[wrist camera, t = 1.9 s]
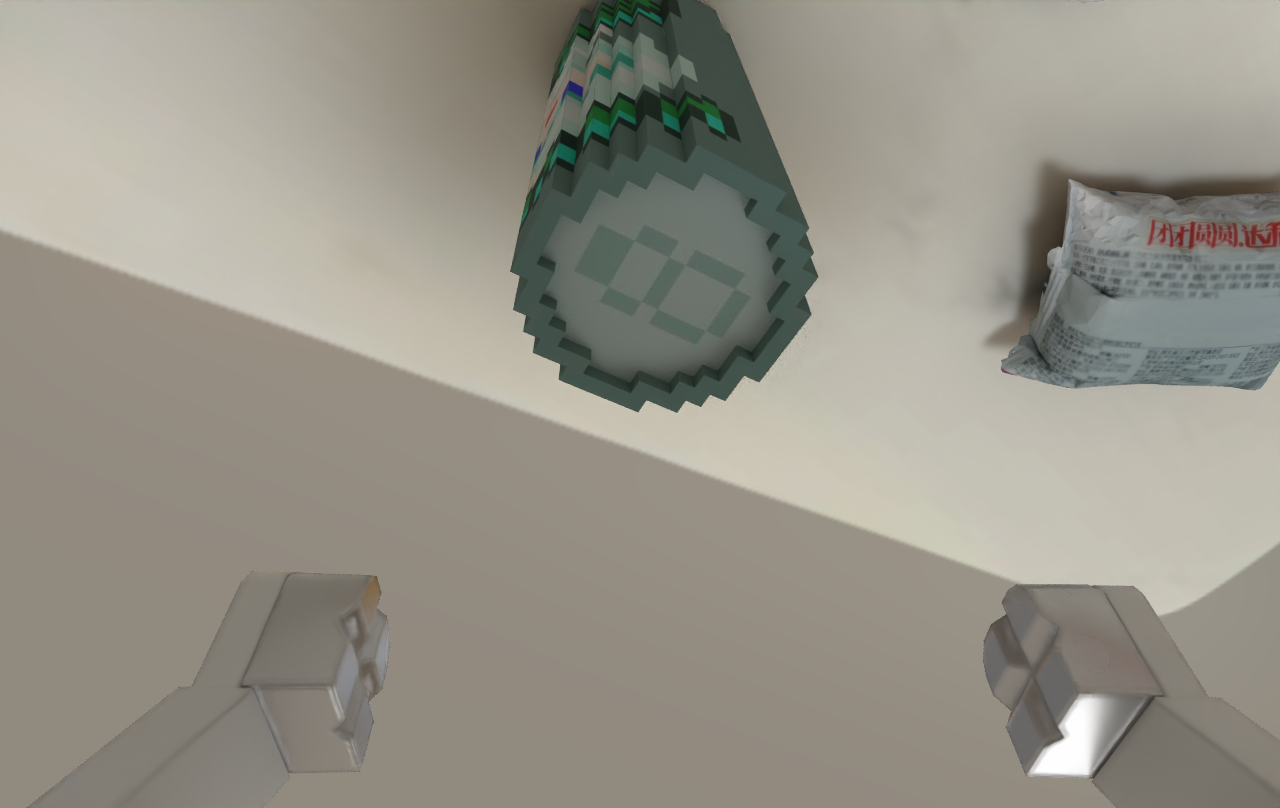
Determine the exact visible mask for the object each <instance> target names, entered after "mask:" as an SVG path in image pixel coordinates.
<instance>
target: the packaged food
mask: <svg viewBox="0 0 1280 808" xmlns="http://www.w3.org/2000/svg"><path fill="white" fill-rule="evenodd" d="M1067 193H1068V197H1067V213H1066V218H1065V228H1064V237H1063V246H1062V248H1061V247H1060V246H1059V247H1057V248H1054V249H1052V250H1050V252H1049V253H1048V258H1047V266H1048V267H1049V268H1050V272H1049V275H1048V278H1047V282H1044V285H1043V288H1042V295H1041V302H1040V308H1039V313H1038V315H1037V317H1036V318H1034V319H1032V321H1031V323H1030V330H1031V331H1030V332H1029V333H1028V335H1025V336H1022V337H1021V338H1020V341H1019V343H1018V345H1017V346H1016V347H1015V348H1013V349H1012V350H1011V351H1010V352H1009V356H1008V358H1006V359H1003V360H1001V361H1002V366H1001V370H1002V372H1004V373H1008V374H1011V375H1019V376H1022V377H1025V378H1029V379H1033V380H1037V381H1040V382H1044V383H1048V384H1053V385H1057V386H1062V387H1067V388H1085V387H1097V386H1112V385H1127V384H1159V385H1191V386H1225V387H1234V388H1240V389H1246V390H1257V389H1260V388H1261V387H1262V386H1263V385H1264V383H1265V382H1266V380H1267V379H1268V377H1269V376H1270V375H1271V373H1272V372H1273V370H1274V369H1275V367H1276V366H1277V364H1278V363H1279V361H1280V192H1269V193H1258V194H1237V195H1224V196H1192V197H1189V198H1185V199H1182V200H1173V199H1171V198H1170V197H1168V196H1164V195H1160V194H1149V193H1137V192H1125V191H1102V190H1098V189H1095V188H1089V187H1087V186H1085V185H1083V184H1081V183H1079V182H1077V181H1074V180H1071V179H1068V187H1067ZM1013 351H1015V352H1014V353H1012V352H1013Z"/></svg>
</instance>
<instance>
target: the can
mask: <svg viewBox="0 0 1280 808" xmlns="http://www.w3.org/2000/svg"><path fill="white" fill-rule="evenodd" d="M808 229H809V227H808V224H807V222H806V219H805V217H804V214H803V212H802V210H801V207H800V205H799V202H798V200H797V197H796V195H795V192H794V190H793V188H792V185H791V183H790V180H789V178H788V175H787V173H786V171H785V168H784V166H783V163H782V161H781V158H780V156H779V154H778V151H777V149H776V146H775V144H774V141H773V139H772V136H771V134H770V132H769V129H768V127H767V124H766V122H765V119H764V117H763V115H762V112H761V110H760V107H759V105H758V102H757V100H756V98H755V95H754V93H753V90H752V88H751V85H750V83H749V80H748V78H747V76H746V73H745V71H744V68H743V66H742V63H741V61H740V59H739V56H738V54H737V51H736V49H735V46H734V44H733V42H732V39H731V37H730V34H728V33H726V32H724V31H723V29H722V26H721V24H720V21H719V18H718V16H717V13H716V11H714V10H713V9H711V8H709V7H708V6H706V5H704V4H703V3H701V2H699V1H698V0H598V2H597V4H596V6H595V8H594V10H593V13H590V12H588V11H586V10H585V9H583V8H581V9H580V11H579V13H578V16H577V18H576V20H575V22H574V24H573V27H572V29H571V31H570V33H569V35H568V38H567V40H566V42H565V44H564V46H563V49H562V51H561V53H560V55H559V57H558V60H557V62H556V65H555V70H554V74H553V79H552V83H551V88H550V92H549V97H548V101H547V106H546V111H545V115H544V120H543V124H542V129H541V133H540V138H539V143H538V147H537V152H536V156H535V161H534V165H533V170H532V175H531V179H530V184H529V188H528V193H527V197H526V202H525V206H524V211H523V216H522V220H521V225H520V229H519V234H518V238H517V243H516V248H515V252H514V257H513V261H512V266H511V270H510V272H512V273H514V274H517V275H519V276H520V278H519V283H518V288H517V293H516V298H515V303H514V308H513V310H515V311H517V312H519V313H522V314H524V315H526V318H525V324H524V330H523V332H525V333H528V334H530V335H532V336H535V342H534V349H533V353H535V354H537V355H540V356H542V357H544V358H547V359H549V360H552V361H554V362H556V363H559V364H560V373H559V380H561V381H563V382H565V383H568V384H570V385H573V386H575V387H578V388H580V389H582V390H585V391H587V392H590V393H592V394H595V395H597V396H600V397H602V398H604V399H607V400H609V401H612V402H614V403H617V404H619V405H622V406H624V407H626V408H629V409H631V410H634V411H636V412H639V410H640V409H641V407H642V406H643V405H644V403H645V402H646V400H648V401H650V402H652V403H655V404H657V405H660V406H662V407H664V408H667V409H669V410H672V411H674V412H676V413H677V412H678V411H679V409H680V408H681V407H682V405H683V404H684V402H685V401H688V402H691V403H693V404H695V405H698V406H700V407H701V406H702V405H703V403H704V402H705V401H706V399H707V398H708V397H709V395H712V396H715V397H717V398H719V399H722V400H724V401H725V400H726V399H727V398H728V396H729V395H730V394H731V392H732V391H733V390H734V388H735V387H736V386H737V384H738V383H739V382H740V381H741V379H742V378H743V377H744V376H746V377H748V378H750V379H753V380H755V381H757V382H760V381H761V379H762V378H763V377H764V375H765V374H766V373H767V372H768V370H769V369H770V368H771V366H772V365H773V364H774V362H775V361H776V360H777V359H778V357H779V356H780V355H781V353H782V352H783V351H784V349H785V348H786V347H787V346H788V344H789V343H790V342H791V340H792V339H793V338H794V336H795V335H796V334H797V333H798V331H799V330H800V329H801V327H802V326H803V325H804V323H805V322H806V321H807V320H808V318H809V317H810V316H811V312H810V309H809V306H808V303H807V300H806V298H805V294H806V293H807V291H808V290H809V289H810V287H811V286H812V285H813V283H814V282H815V281H816V279H817V278H818V275H817V272H816V270H815V267H814V264H813V262H812V259H811V256H812V255H813V253H814V252H813V250H812V247H811V245H810V242H809V240H808V237H807V235H806V232H807V230H808Z"/></svg>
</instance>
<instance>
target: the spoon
mask: <svg viewBox="0 0 1280 808" xmlns="http://www.w3.org/2000/svg"><path fill="white" fill-rule="evenodd" d="M1070 1H1076V2H1082V3H1088V2H1095V1H1102V0H1070Z"/></svg>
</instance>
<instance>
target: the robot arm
mask: <svg viewBox="0 0 1280 808" xmlns="http://www.w3.org/2000/svg"><path fill="white" fill-rule="evenodd" d="M380 596H381V590H380V587H379V583H378V579H377V576H372V575H350V574H323V573H300V572H265V571H263V572H262V571H251V572H250V573H249V574H248V575H247V577H246V578H245V579H244V580H243V581H242V582H241V583H240V585H239V587H238V590H237V592H236V594H235V596H234V598H233V600H232V602H231V604H230V606H229V609H228V611H227V613H226V615H225V617H224V619H223V621H222V624H221V625H220V628H219V630H218V632H217V634H216V636H215V638H214V640H213V643H212V645H211V647H210V649H209V651H208V653H207V655H206V657H205V659H204V661H203V664H202V666H201V668H200V670H199V672H198V674H197V676H196V678H195V680H194V683H193V685H192V687H178V688H177V689H176V690H174V691H173V692H172V693H171V694H169V695H168V696H167V697H165V698H164V699H163V700H162V701H160V702H159V703H158V704H157V705H155V706H154V707H153V708H152V709H150V710H149V711H148V712H147V713H145V714H144V715H143V716H142V717H141V718H139V719H138V720H137V721H135V722H134V723H133V724H132V725H130V726H129V727H128V728H126V729H125V730H124V731H123V732H122V733H120V734H119V735H118V736H116V737H115V738H114V739H113V740H111V741H110V742H109V743H107V744H106V745H105V746H104V747H103V748H101V749H100V750H99V751H98V752H96V753H95V754H94V755H92V756H91V757H90V758H89V759H87V760H86V761H85V762H84V763H82V764H81V765H80V766H78V767H77V768H76V769H75V770H73V771H72V772H71V773H70V774H69V775H67V776H66V777H65V778H63V779H62V780H61V781H60V782H59V783H57V784H56V785H55V786H54V787H52V788H51V789H49V791H47V792H46V793H45V794H43V795H42V796H41V797H39V798H38V799H37V800H36V801H34V802H33V803H32V804H31V805H29V806H28V807H27V808H264V807H265V806H266V805H267V803H268V802H269V801H270V800H271V799H272V798H273V797H274V795H275V794H276V793H277V792H278V791H279V790H280V789H281V788H282V786H283V785H284V784H285V783H286V782H287V781H288V780H289V778H290V775H289V773H324V772H325V773H328V772H360V771H361V768H362V764H363V760H364V757H365V753H366V749H367V746H368V742H369V738H370V734H371V730H372V726H373V723H374V720H373V716H372V712H371V708H370V705H369V701H370V700H371V699H372V698H373V697H374V696H375V695H377V694H378V693H379V692H380V691H381V690H382V688H383V684H384V680H385V676H386V672H387V668H388V658H389V649H390V635H389V625H388V620H387V616H386V615H385V614H384V613H382V612H381V611H380V610H378V609H377V607H378V603H379V600H380ZM1002 605H1003V607H1004V609H1005V611H1006V615H1005V616H1003V617H1002V618H1000V619H998V620H997V621H995V622H994V623H992V624H991V626H990V628H989V630H988V632H987V635H986V637H985V640H984V652H983V662H984V668H985V672H986V677H987V680H988V683H989V685H990V688H991V691H992V693H993V695H994V696H995V697H996V698H997V699H998V700H999V701H1000V702H1001V703H1003V704H1004V705H1005V706H1006V707H1007V708H1008V709H1009V710H1010V711H1011V714H1010V717H1009V720H1008V723H1007V725H1006V728H1007V731H1008V733H1009V736H1010V738H1011V741H1012V743H1013V745H1014V748H1015V750H1016V753H1017V755H1018V758H1019V760H1020V763H1021V765H1022V768H1023V770H1024V773H1025V775H1026V776H1034V777H1065V778H1093V780H1092V783H1093V784H1094V785H1095V786H1096V787H1097V788H1098V789H1099V790H1100V791H1101V792H1102V793H1103V794H1104V795H1105V796H1106V798H1107V799H1108V800H1109V801H1110V802H1112V804H1113V805H1114V806H1115V807H1116V808H1280V740H1279V739H1277V738H1276V737H1275V736H1273V735H1272V734H1270V733H1269V732H1268V731H1266V730H1265V729H1264V728H1262V727H1260V726H1259V725H1258V724H1257V723H1255V722H1254V721H1252V720H1251V719H1250V718H1248V717H1247V716H1245V715H1244V714H1243V713H1241V712H1240V711H1239V710H1237V709H1236V708H1235V707H1233V706H1232V705H1230V704H1229V703H1227V702H1226V701H1225V700H1223V699H1222V698H1213V697H1209V696H1208V694H1207V693H1206V691H1205V690H1204V688H1203V687H1202V685H1201V684H1200V682H1199V680H1198V679H1197V677H1196V676H1195V674H1194V673H1193V671H1192V669H1191V668H1190V666H1189V665H1188V663H1187V662H1186V660H1185V658H1184V657H1183V655H1182V654H1181V652H1180V651H1179V649H1178V647H1177V646H1176V644H1175V643H1174V641H1173V640H1172V638H1171V636H1170V635H1169V633H1168V632H1167V630H1166V629H1165V627H1164V626H1163V624H1162V623H1161V621H1160V619H1159V618H1158V616H1157V615H1156V613H1155V611H1154V610H1153V608H1152V607H1151V605H1150V604H1149V602H1148V600H1147V599H1146V597H1145V596H1144V595H1143V593H1142V592H1140V591H1139V590H1138V589H1136V588H1135V587H1134V586H1100V585H1094V586H1090V585H1074V584H1016V585H1015V586H1013V587H1012V588H1010V589H1009V590H1008V591H1007V593H1006V595H1005V597H1004V599H1003V601H1002Z"/></svg>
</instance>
